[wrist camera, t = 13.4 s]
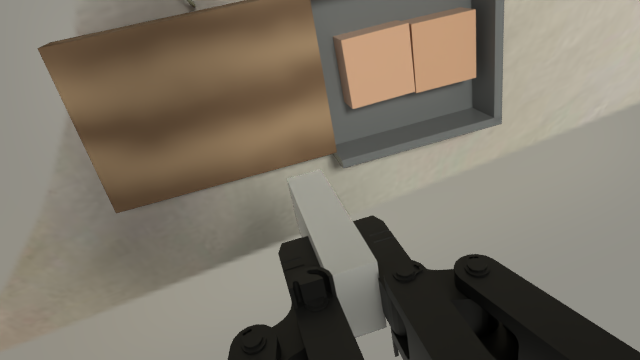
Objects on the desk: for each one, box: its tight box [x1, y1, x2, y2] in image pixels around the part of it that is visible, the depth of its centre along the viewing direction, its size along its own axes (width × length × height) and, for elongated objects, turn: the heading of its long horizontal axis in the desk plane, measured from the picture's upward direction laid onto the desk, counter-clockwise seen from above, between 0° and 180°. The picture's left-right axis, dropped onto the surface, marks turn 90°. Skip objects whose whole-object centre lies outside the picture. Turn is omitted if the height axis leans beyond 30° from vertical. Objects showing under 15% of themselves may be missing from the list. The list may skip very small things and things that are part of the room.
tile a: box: [333, 20, 415, 109], centre depth 38 cm, size 6×6×2 cm
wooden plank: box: [38, 0, 337, 213], centre depth 37 cm, size 14×20×3 cm
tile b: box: [403, 7, 476, 93], centre depth 39 cm, size 6×6×2 cm
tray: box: [310, 0, 504, 168], centre depth 38 cm, size 16×16×4 cm
